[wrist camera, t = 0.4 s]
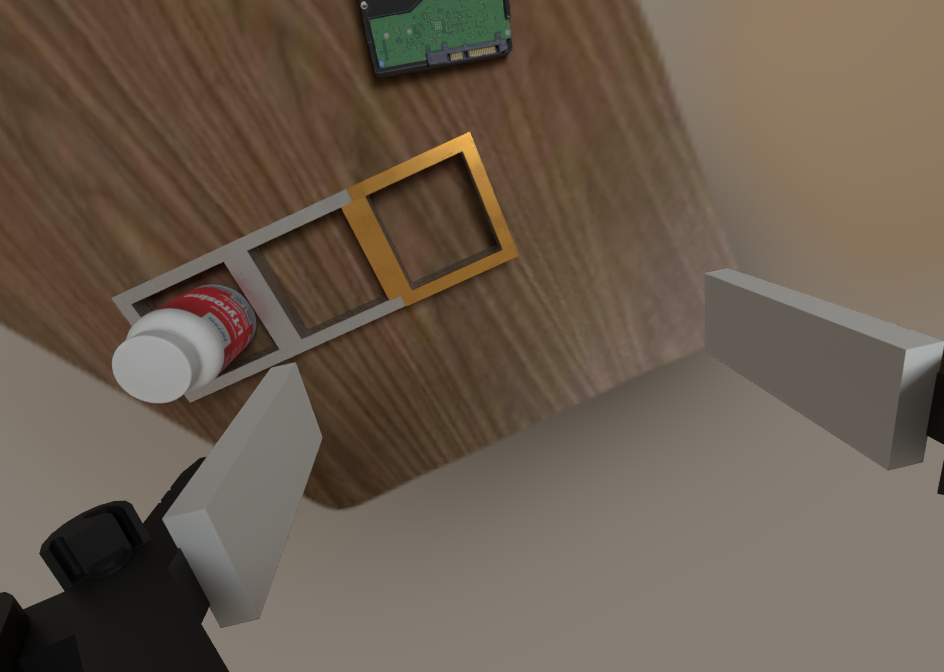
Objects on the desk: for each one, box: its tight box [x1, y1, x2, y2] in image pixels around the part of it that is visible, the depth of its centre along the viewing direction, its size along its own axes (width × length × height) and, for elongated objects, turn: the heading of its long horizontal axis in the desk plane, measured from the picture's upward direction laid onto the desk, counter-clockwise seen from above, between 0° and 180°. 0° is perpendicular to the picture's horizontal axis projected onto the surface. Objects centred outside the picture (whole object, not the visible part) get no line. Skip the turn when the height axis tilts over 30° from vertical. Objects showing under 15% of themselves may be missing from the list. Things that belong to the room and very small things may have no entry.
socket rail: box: [111, 132, 519, 403], centre depth 38 cm, size 10×30×3 cm, turn 114°
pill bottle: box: [112, 284, 257, 403], centre depth 35 cm, size 6×6×11 cm
